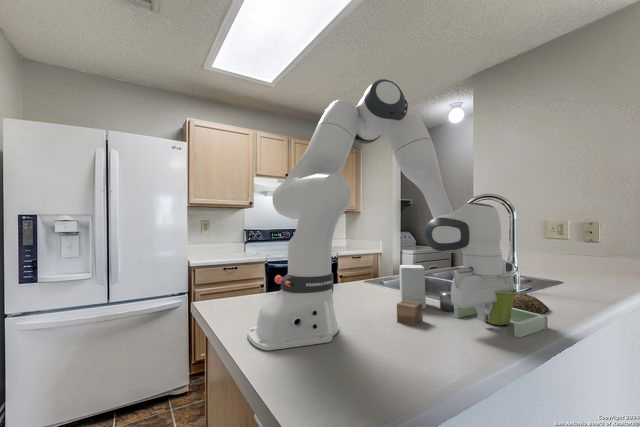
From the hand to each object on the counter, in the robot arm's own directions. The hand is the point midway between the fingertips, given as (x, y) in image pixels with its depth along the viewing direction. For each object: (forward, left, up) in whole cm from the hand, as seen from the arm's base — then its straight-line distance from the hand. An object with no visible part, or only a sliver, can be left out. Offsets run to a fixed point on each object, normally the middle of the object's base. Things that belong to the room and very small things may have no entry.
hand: (483, 320), depth 75 cm
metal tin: (+5, +14, -2) cm, 15 cm away
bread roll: (+26, +4, -2) cm, 26 cm away
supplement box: (-1, +23, -2) cm, 23 cm away
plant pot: (+6, 0, -2) cm, 6 cm away
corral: (+6, 0, -2) cm, 6 cm away
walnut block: (-13, +12, -2) cm, 18 cm away
